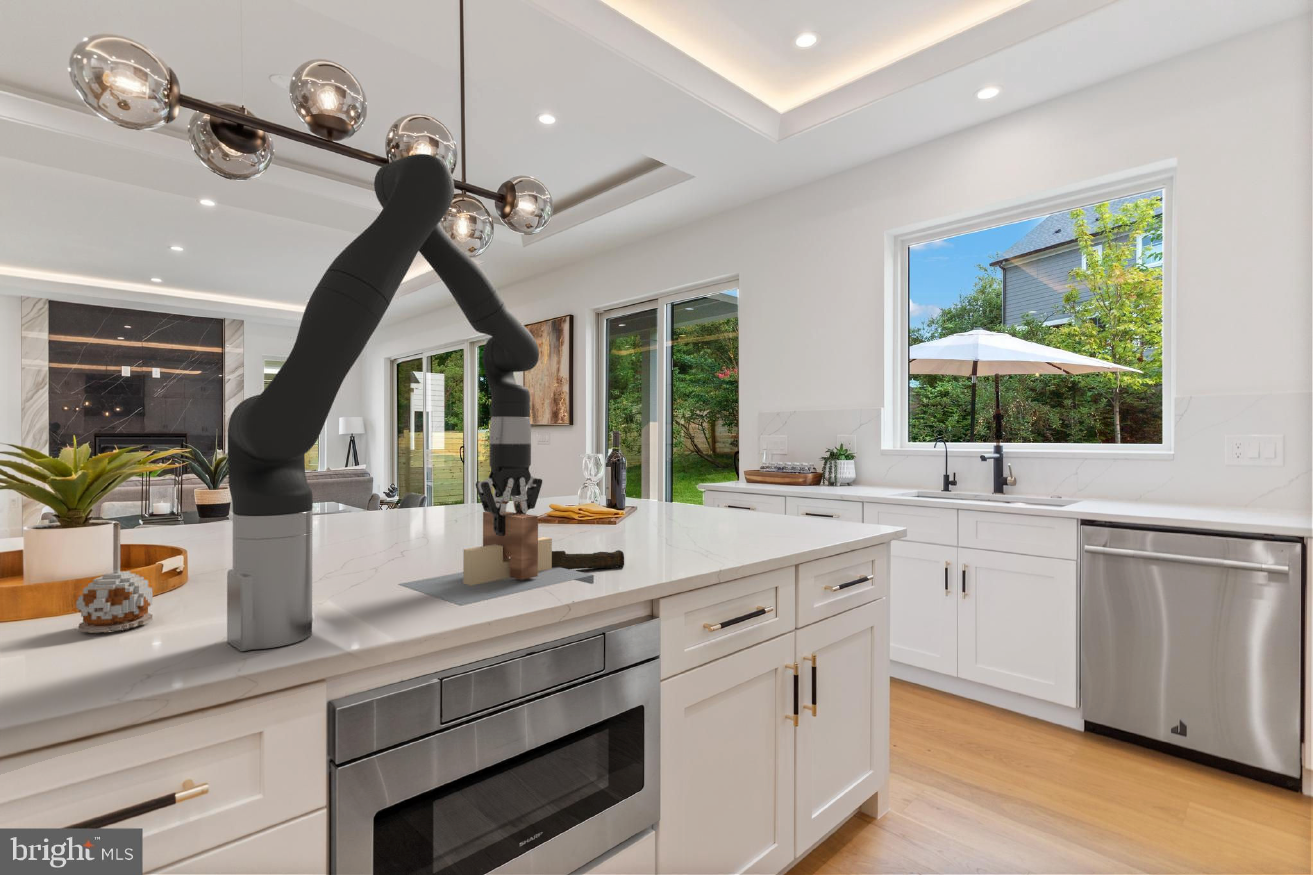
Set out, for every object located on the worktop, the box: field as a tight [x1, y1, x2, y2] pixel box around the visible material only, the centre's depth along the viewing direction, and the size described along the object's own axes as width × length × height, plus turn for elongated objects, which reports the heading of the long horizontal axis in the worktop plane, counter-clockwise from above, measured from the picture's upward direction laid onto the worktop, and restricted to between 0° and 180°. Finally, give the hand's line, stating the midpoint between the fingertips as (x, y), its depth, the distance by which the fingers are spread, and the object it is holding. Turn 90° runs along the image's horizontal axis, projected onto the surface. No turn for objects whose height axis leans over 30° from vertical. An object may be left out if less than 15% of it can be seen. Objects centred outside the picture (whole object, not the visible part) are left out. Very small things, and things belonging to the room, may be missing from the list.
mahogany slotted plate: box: [482, 511, 539, 580], centre depth 116 cm, size 4×12×11 cm, turn 49°
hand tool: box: [552, 549, 625, 570], centre depth 128 cm, size 19×4×5 cm, turn 116°
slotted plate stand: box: [398, 536, 595, 606], centre depth 113 cm, size 28×20×8 cm
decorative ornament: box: [75, 521, 153, 634], centre depth 89 cm, size 8×8×15 cm
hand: (509, 533), depth 116 cm, fingers closed on mahogany slotted plate, 3 cm apart
